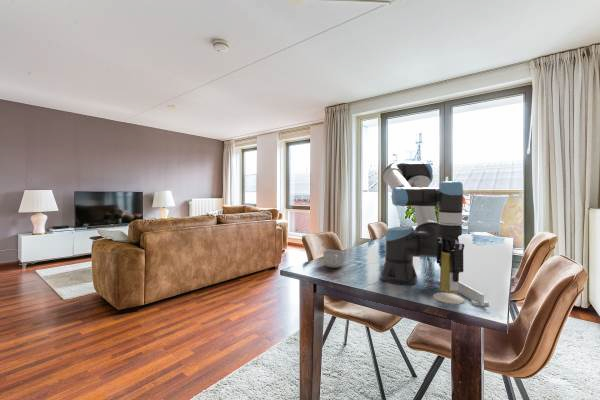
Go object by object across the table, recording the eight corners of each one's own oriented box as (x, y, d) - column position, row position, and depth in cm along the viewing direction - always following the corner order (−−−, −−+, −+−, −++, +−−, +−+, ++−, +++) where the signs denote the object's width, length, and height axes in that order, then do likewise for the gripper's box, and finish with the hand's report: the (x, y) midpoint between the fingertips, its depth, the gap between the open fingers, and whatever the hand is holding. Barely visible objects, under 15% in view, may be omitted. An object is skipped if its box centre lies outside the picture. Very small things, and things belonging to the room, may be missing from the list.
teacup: (323, 263, 151) (323, 248, 150) (344, 264, 149) (344, 249, 149) (322, 270, 137) (322, 254, 137) (344, 271, 135) (344, 255, 135)
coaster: (442, 304, 97) (442, 303, 97) (428, 293, 107) (428, 292, 107) (470, 303, 97) (470, 303, 97) (453, 293, 107) (453, 292, 107)
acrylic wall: (475, 306, 95) (475, 294, 95) (436, 281, 121) (436, 272, 121) (489, 306, 95) (490, 294, 95) (447, 281, 121) (447, 272, 121)
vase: (435, 288, 104) (436, 250, 104) (449, 287, 106) (450, 249, 105) (447, 294, 98) (448, 254, 98) (462, 292, 100) (463, 253, 99)
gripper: (477, 227, 92) (475, 296, 93) (446, 221, 111) (444, 279, 111) (455, 227, 92) (453, 296, 92) (427, 221, 110) (426, 279, 111)
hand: (448, 286), depth 102 cm, fingers closed on vase, 6 cm apart
